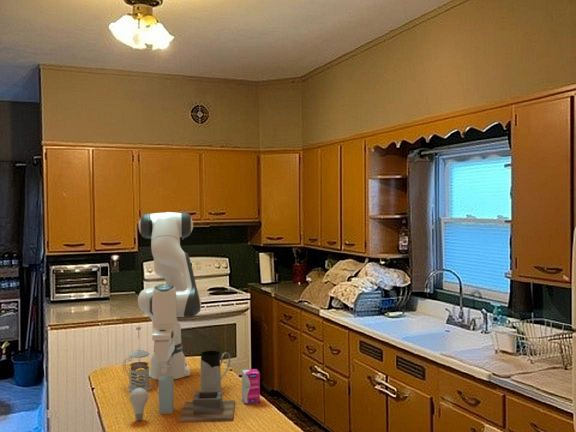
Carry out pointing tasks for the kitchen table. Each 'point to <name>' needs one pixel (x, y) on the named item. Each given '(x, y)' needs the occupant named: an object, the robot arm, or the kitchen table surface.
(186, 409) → the socket
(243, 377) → the supplement box
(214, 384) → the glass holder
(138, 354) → the french press
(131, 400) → the lightbulb
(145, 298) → the robot arm
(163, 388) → the peg
